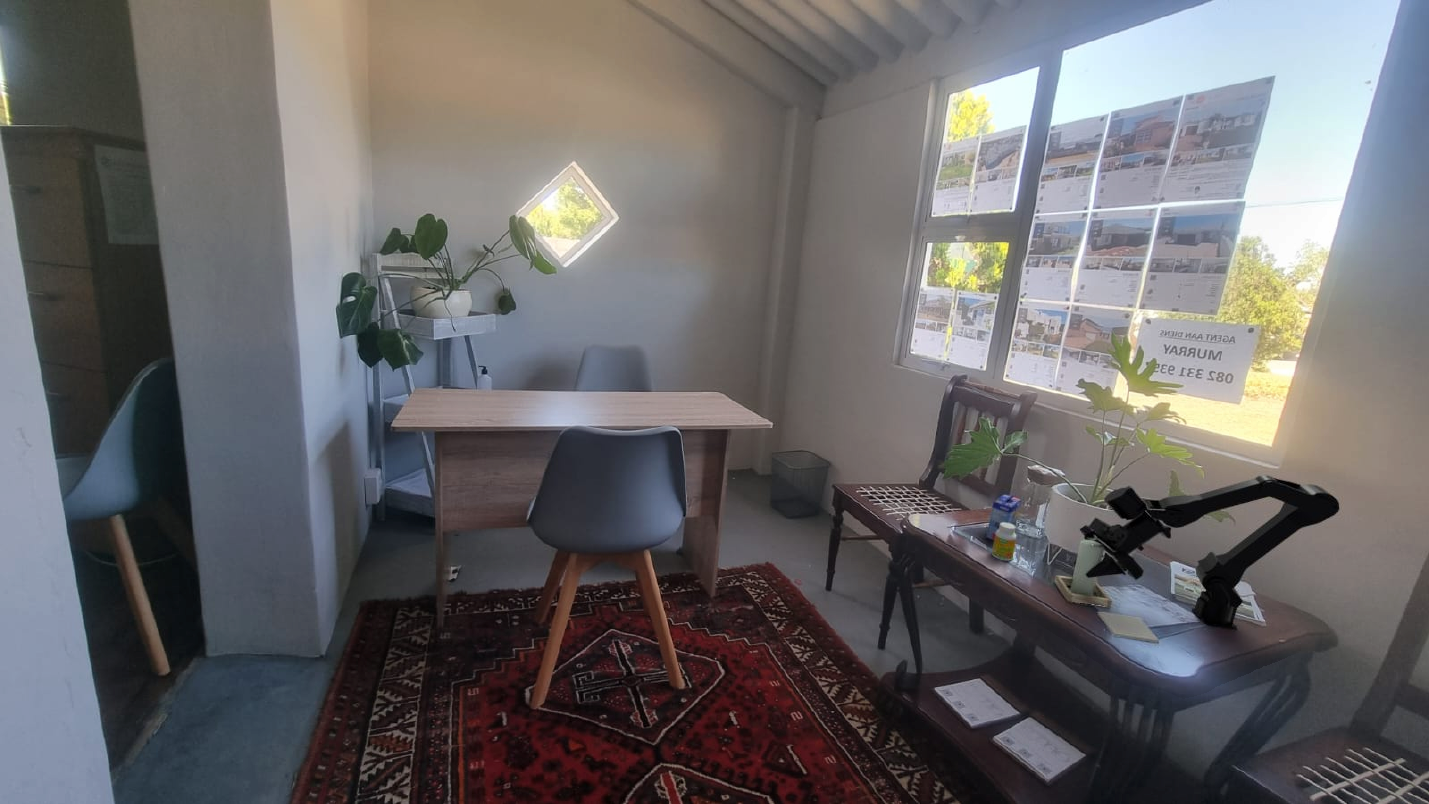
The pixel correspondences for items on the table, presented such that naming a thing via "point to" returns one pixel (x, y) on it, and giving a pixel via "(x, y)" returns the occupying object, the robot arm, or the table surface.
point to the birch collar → (1077, 598)
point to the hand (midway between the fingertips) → (1080, 570)
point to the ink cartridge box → (1003, 513)
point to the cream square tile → (1127, 627)
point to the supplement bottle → (1004, 542)
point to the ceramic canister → (1086, 567)
